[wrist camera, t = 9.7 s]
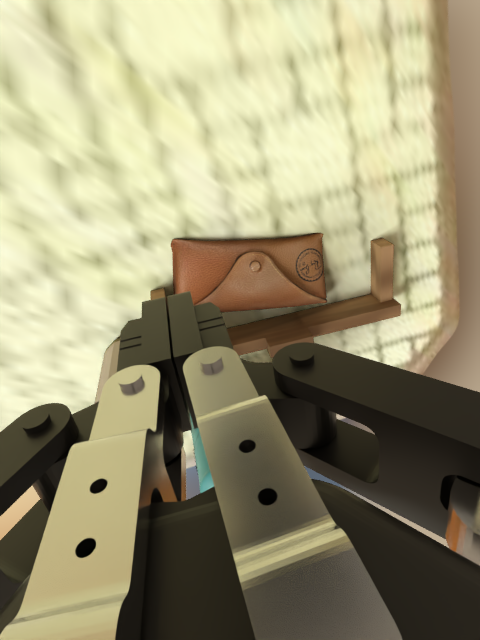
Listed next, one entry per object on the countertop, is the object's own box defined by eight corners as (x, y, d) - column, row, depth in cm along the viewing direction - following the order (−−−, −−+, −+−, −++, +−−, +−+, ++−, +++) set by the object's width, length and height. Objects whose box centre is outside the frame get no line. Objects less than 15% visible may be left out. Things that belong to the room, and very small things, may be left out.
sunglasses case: (327, 228, 47) (345, 275, 44) (312, 267, 53) (326, 311, 50) (165, 237, 44) (171, 289, 41) (168, 278, 50) (173, 326, 47)
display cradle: (148, 291, 47) (148, 316, 41) (384, 237, 49) (413, 254, 44) (166, 353, 51) (169, 383, 46) (383, 301, 53) (409, 323, 48)
